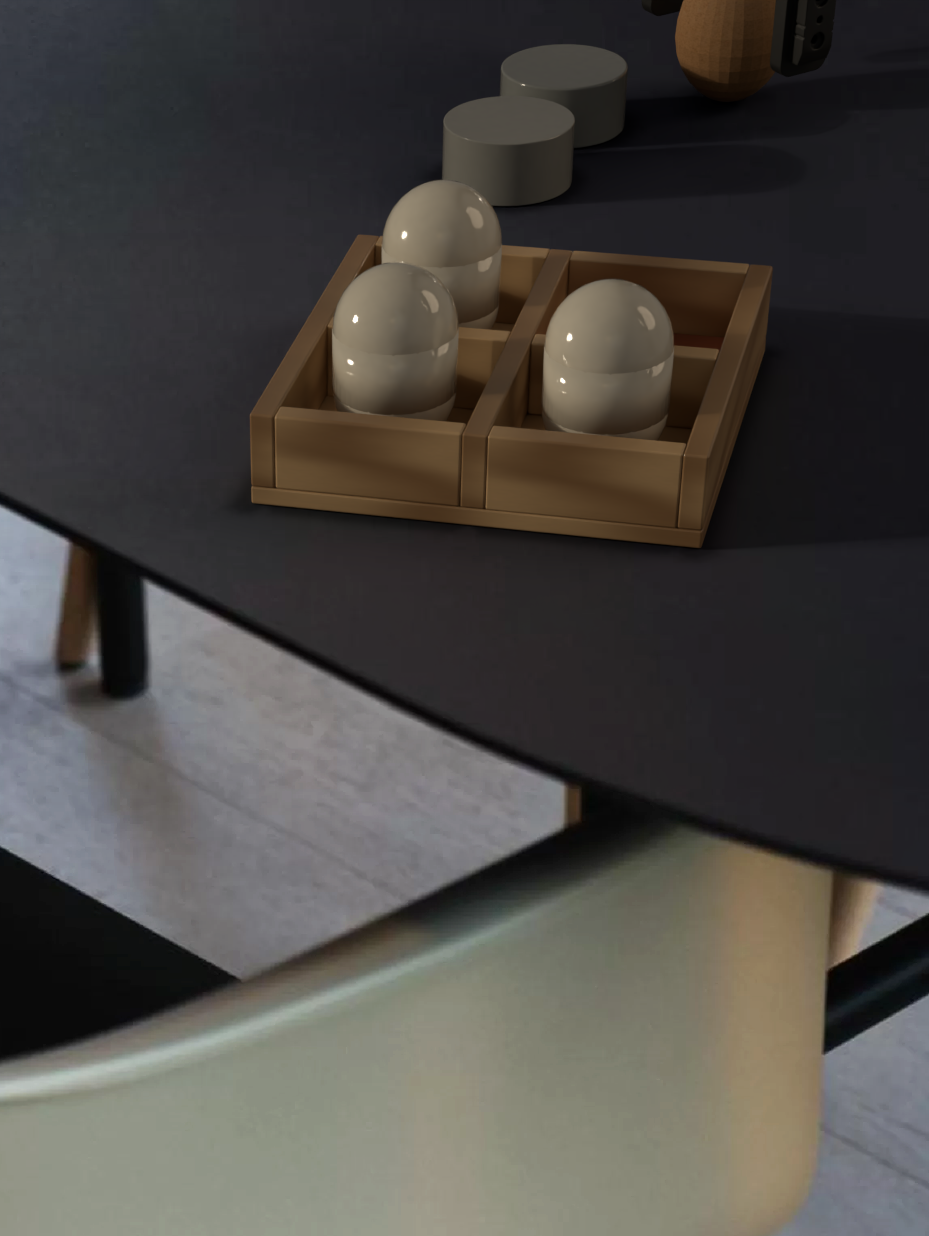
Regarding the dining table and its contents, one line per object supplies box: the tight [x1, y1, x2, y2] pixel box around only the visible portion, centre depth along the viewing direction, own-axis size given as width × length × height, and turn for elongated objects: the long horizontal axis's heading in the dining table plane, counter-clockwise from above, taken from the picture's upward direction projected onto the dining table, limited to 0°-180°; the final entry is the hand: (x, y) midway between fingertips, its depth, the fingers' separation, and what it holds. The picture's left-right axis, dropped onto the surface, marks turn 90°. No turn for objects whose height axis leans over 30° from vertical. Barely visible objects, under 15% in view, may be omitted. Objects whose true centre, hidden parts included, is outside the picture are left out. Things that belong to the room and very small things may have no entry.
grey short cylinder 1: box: [441, 95, 575, 207], centre depth 112 cm, size 5×5×2 cm
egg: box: [674, 0, 776, 103], centre depth 116 cm, size 4×4×6 cm
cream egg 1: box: [381, 179, 503, 330], centre depth 98 cm, size 4×4×6 cm
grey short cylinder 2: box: [499, 43, 629, 149], centre depth 116 cm, size 5×5×2 cm
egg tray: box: [249, 234, 774, 549], centre depth 96 cm, size 14×14×3 cm
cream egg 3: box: [541, 279, 674, 441], centre depth 91 cm, size 4×4×6 cm
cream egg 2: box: [332, 262, 459, 421], centre depth 93 cm, size 4×4×6 cm
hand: (730, 39), depth 117 cm, fingers open, 8 cm apart
